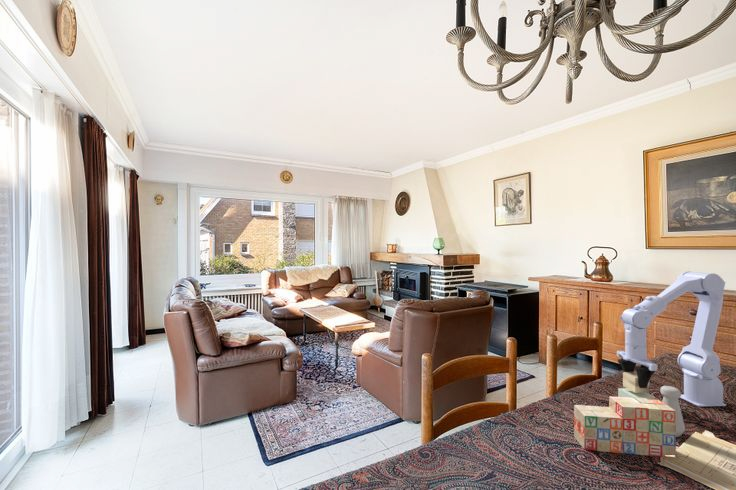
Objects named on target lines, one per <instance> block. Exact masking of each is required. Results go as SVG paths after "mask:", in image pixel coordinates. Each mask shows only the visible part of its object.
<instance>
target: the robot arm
mask: <svg viewBox="0 0 736 490" xmlns="http://www.w3.org/2000/svg"><path fill="white" fill-rule="evenodd" d="M725 285H726V281H725V280H724V279H723V278H722V277H721V276H720V275H719V274H717V273H707V272H695V271H683V272H682V273H681V274H680V275H678V276H676V280H675V281H674V282H673V283H671V284H670V285H669V286H668V287H666V288H665V289H664V290H663V291H661V292H660V293H659V294H658V295H657V296H656V295H650V296H649V295H648V296H646V297H645V298H644V300H642V301H641V302H640V303H638V304H635V305H634V306H633V307H632V308H627V309H625V310H624V311H623V312H622V314H621V315H620V316H619V317H620V320H621V322H622V323H623V328H624V343H625V345H624V348H625V349H624V350H625V351H624V350H616V356H617V357H618V359H617V363H619V365H620V367H621V369H622V373H623V372H637V376H638V383H639V387H640V388H647V385H648V382H649V383H650V380H651V378H652V376H653V375H654V373H656V372H658V364H657V363H654V362H652V361H651V360H649V359H648V358H647V356H648V355H647V350H648V349H647V328H648V327H650V326H651V324H652V322H653V320H654V319H655V317H657V316H659V315H660V314H661V313H663V312H664V311H665V310H667V305H668V304H669V303H671V302H672V301H674V300H675V299H678V298H679V297H682V296H683V295H684V294H686V293H691V294H692V295H694V296H695V297H696V299H697V300H698V301H699V303H698V307H697V311H696V316H695V321H694V325H693V330H692V336H691V340H690V344H688V345H685V346H684V347H682V348H681V349H682V350H681V351H680V353H679V355H678V356H677V365H678V366H679V367H680V368H681V371H682V373H683V394H682V393H681V397H680V398H679V399H682V400H684V401H686V402H689V403H691V404H693V405H695V406H697V407H726V406H727V404H726V403H724V385H723V383H722V381H721V379H719V375H720V374H721V372H722V371H721V370H722V368H721V365H720V363H721V362H720V361H721V358H720V356H718V354H717V353H716V351H714V349H713V348H714V345H715V342H716V341H715V340H716V335H717V330H718V328H719V324H720V323H719V321H720V318H721V313H722V307H723V305H724V304H723V303H724V290H725ZM637 365H639V366H637Z"/></svg>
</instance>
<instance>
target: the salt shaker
mask: <svg viewBox="0 0 736 490" xmlns="http://www.w3.org/2000/svg"><path fill="white" fill-rule="evenodd" d="M659 389H660V390H659V391H660V393H661V395H662V396H663V397H662V400H661V402H663V403H665V404H666V405H668V406H669V407H671V408H672V409H674V410H675V412H676V414H675V422H676V438H678V437H682V435H683V434H684V432H685V430H686V427H685V426H686V425H685V422H684V417H683V414H682V409H681V406H680V402H679V399H681V398H680V397H681V395H682V392H681V390H680V389H679V388H676V387H674V386H670V385H662V386H661V387H660V388H659Z"/></svg>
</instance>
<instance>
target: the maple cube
mask: <svg viewBox="0 0 736 490" xmlns="http://www.w3.org/2000/svg"><path fill="white" fill-rule="evenodd" d="M622 388H627V389H629V390H631V391H633V392H635V393H641V392H646V393H650V381H649V382H648V385H647V388H640V387H639V383H638V376H637V372H636V371H634V372H623V371H622Z"/></svg>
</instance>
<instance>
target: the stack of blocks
mask: <svg viewBox="0 0 736 490" xmlns="http://www.w3.org/2000/svg"><path fill="white" fill-rule="evenodd" d="M608 399H609V402H608V405H609V406H597V405H584V404H583V405H582V404H574V405H573V407H574V409H573V410H574V411H573V437H574V438H575V439H576V441H577V442H578V443H579V445H580V446H581V447H582V448H583V449H584V450H587V451H588V450H589V451H597V452H604V453H605V452H607V453H608V452H610V453H616V454H617V453H618V454H628V455H641V456H651V457H662V456H665V455H676V454H677V453H676V452H677V449H676V448H677V447H676V438H677V437H676V422H675V414H676V412H675V410H674V409H672V408H671V407H669V406H668V405H666V404H665V403H663V402H662V400H660V399H656V398H655V399H646V398H630V397H618V396H609V398H608ZM676 456H677V455H676ZM662 458H663V457H662Z"/></svg>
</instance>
